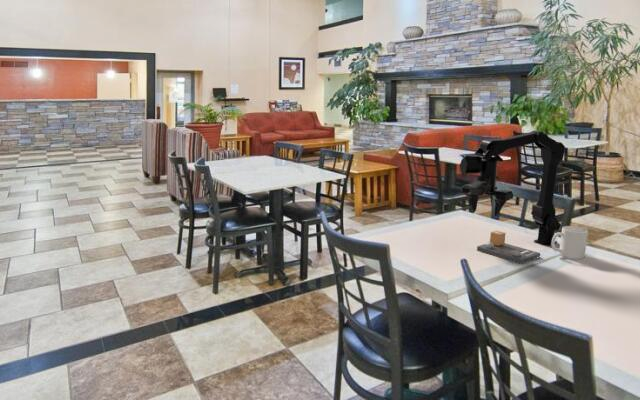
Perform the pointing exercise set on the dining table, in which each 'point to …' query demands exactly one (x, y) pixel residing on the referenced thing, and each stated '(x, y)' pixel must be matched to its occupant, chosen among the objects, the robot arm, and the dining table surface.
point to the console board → (509, 252)
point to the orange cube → (497, 238)
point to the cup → (571, 242)
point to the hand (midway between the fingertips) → (484, 214)
